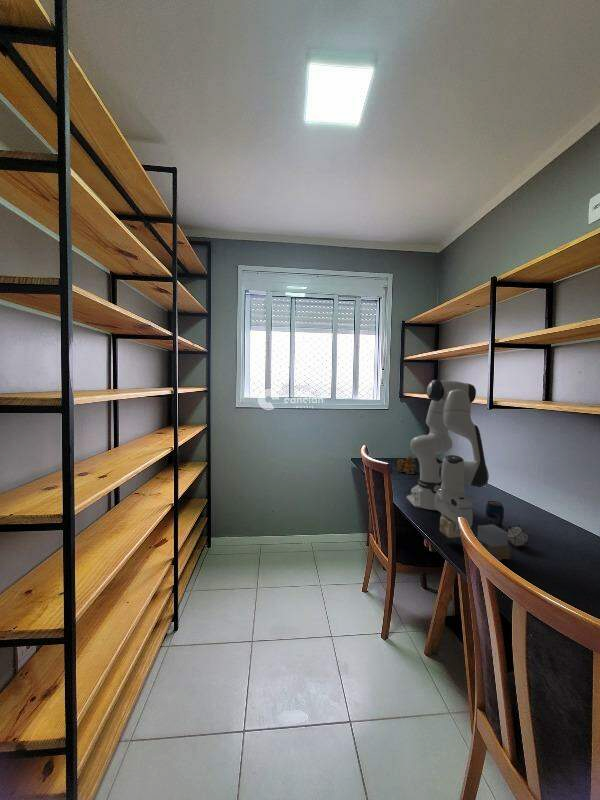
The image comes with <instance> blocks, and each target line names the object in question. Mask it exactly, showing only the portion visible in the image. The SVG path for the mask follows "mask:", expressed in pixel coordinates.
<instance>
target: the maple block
mask: <svg viewBox="0 0 600 800" xmlns="http://www.w3.org/2000/svg"><path fill="white" fill-rule="evenodd" d="M454 528H456V525H455V522H453V521H452V520H451V519H449V518H448V517H446V516H445V517H442V516H440V518H439V532H441V533H442V534H443V535H444V536H446V537H447V538H449V539H450V538H461V537H460V533H459V534H456V533H455V532H454Z"/></svg>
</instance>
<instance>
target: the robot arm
mask: <svg viewBox="0 0 600 800" xmlns="http://www.w3.org/2000/svg"><path fill="white" fill-rule="evenodd" d="M426 395H427V398H428V399H429V400H431V401H430V404H429V406H428V410H427V413H426V414H427V415H426V419H425V424H426V425H427V427H428V428H429V433H428V434H421V435H418V436H415V437H413V438H412V439H410V442H409V447H410V450H411V452H412V453H413V455H415V456H416V458H417V460H418V463H419V478H418V477H417V481H418V482H417V485H414V486H413V487H412V488H411V490H410V494H408V495H407V496H406V499H407V500H408V501H409V502H410V503H411V504H412V505H413V506H414V507H415V508H421V509H425V510H430V511H438V512H439V513H440V517H445V516H446V517H448V518H449V519H451V520H452V521H453V522H455V525H456V528H454V532H455V533H456V534H459V533H460V531H459V526H458V517H463V518H465V519H466V520H467V522H468V524H469V526H470V528H471V527H472V526H473V521H474V520H473V519H474V518H473V515H474V514H473V510H472V508H473V507H474V502H473V501H472V500H471V499H470V498H469V496H467V494H466V493H465V487H464V485H469V486H472V487H477V488H481V487H484V486H485V485H486V484H488V482H489V480H490V474H489V470H488V467H487V463H486V459H485V452H484V448H483V442H482V437H481V436H482V435H481V432H480V428H479V427H478V425H476V424H474V423H473V422H474V421H473V420H472V418H471V415H472V414H471V404H472V403H473V402H474V401H475V399H476V395H477V390H476V387H475V386H474V384H470V383H467V382H461V381H456V380H441V379H432V380H431V381H429V383H428V385H427V387H426ZM449 431H450V432H452V433H453V434H456V435H458V436H461V437H462V438H465V439H467V440H468V441H469V443H470V444H471V448H472V455H473V461H465V460H464V458H462V457H461V456H460V455H459V456H458V455H455V454H449V455H446V456H444V457H443V459H442V462H440V463H439V462H438V461H437V458H436V457H437V455H441V454H444V453H447V452H449V451H450V450H451V449H452V448H453V440H452V439H451V437H450V436H449Z"/></svg>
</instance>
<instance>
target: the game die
mask: <svg viewBox="0 0 600 800" xmlns="http://www.w3.org/2000/svg"><path fill="white" fill-rule="evenodd" d="M506 532H508V541H509V543H511V545H513V546H514V549H516V548H517V547H524V548H526V545H529V543H528V541H529V538H530V537H532V535H531V534H528V533H527V532H525V529H522V528H521V527H520V525H519V524H518V525H517V526H513V527H512V526H508V528H506Z"/></svg>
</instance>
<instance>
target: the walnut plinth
mask: <svg viewBox="0 0 600 800" xmlns="http://www.w3.org/2000/svg"><path fill="white" fill-rule="evenodd" d="M476 538H477V539H478V537H476ZM478 540H479V539H478ZM479 541H480V542H481V543H482V545H483V546H484V547H485V548H486V549H487V550H488V551H489V552H490V553H491V554H492V555H494V556H495V557H496V558H497V559H498V561H503V560H502V559H507V560H510V559H511V558H510V555H511V554H510V553H511V552H510V550H511V545H509V544H508V546H498V547H490V546H489V545H487V544H486V543H484V542H482V541H481V540H479Z"/></svg>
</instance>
